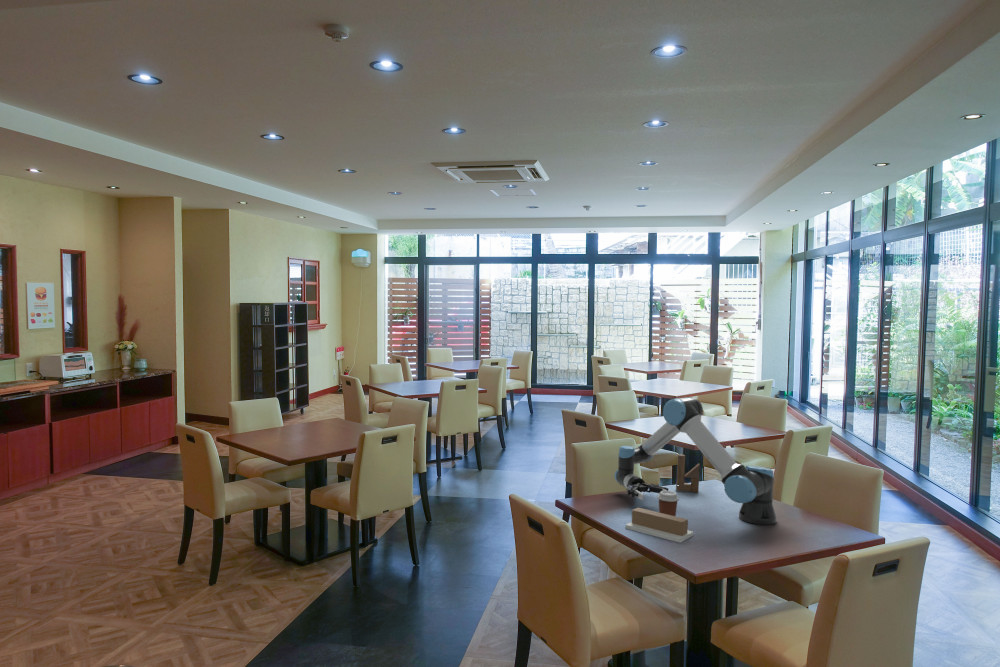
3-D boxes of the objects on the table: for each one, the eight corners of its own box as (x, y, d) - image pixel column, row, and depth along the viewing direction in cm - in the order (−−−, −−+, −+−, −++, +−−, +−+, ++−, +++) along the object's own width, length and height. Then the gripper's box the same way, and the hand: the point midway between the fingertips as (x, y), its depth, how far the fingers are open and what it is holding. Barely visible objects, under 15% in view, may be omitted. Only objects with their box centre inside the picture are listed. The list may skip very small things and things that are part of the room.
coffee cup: (651, 518, 280) (652, 491, 280) (668, 516, 285) (669, 489, 284) (666, 525, 272) (667, 496, 272) (682, 522, 276) (683, 494, 276)
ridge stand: (693, 535, 260) (693, 518, 260) (680, 542, 251) (681, 524, 251) (639, 521, 276) (639, 505, 276) (625, 528, 267) (625, 511, 266)
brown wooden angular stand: (698, 492, 324) (699, 457, 324) (676, 490, 327) (677, 455, 326) (698, 491, 328) (699, 455, 327) (676, 489, 330) (677, 453, 330)
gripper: (657, 490, 311) (681, 503, 291) (610, 492, 305) (630, 506, 285) (658, 475, 311) (682, 487, 291) (610, 476, 305) (631, 489, 284)
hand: (656, 496), depth 288 cm, fingers open, 13 cm apart
